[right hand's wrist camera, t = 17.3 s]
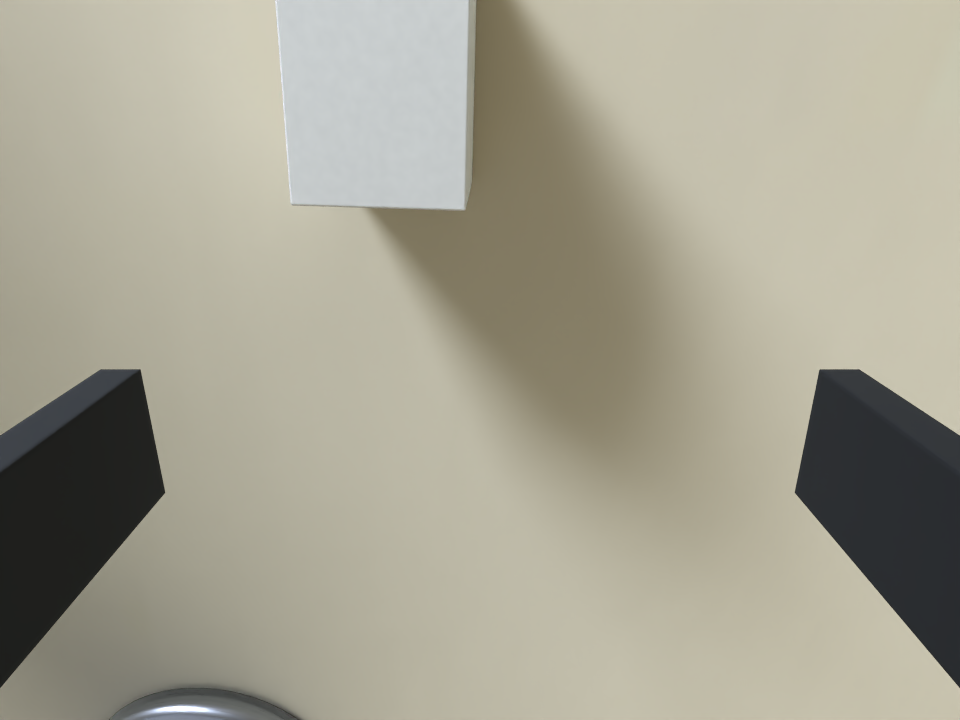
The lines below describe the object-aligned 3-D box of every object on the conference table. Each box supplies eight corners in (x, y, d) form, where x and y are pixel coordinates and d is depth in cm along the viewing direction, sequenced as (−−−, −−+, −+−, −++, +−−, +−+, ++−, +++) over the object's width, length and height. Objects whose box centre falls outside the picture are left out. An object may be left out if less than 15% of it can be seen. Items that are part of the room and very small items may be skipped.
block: (471, 183, 27) (465, 211, 19) (345, 179, 27) (290, 205, 19) (478, -66, 24) (473, -149, 16) (334, -70, 24) (262, -155, 16)
